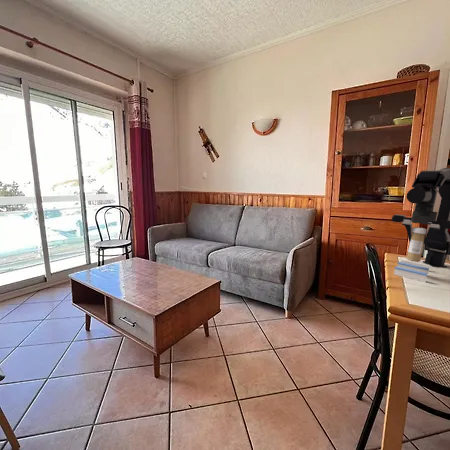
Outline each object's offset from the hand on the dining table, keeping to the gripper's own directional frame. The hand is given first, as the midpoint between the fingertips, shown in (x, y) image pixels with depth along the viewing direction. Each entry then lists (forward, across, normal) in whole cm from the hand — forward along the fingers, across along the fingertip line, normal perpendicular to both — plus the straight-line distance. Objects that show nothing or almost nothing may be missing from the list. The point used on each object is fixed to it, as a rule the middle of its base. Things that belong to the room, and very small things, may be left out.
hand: (416, 242), depth 95 cm
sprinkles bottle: (+8, 0, 0) cm, 8 cm away
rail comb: (+13, 0, +3) cm, 14 cm away
